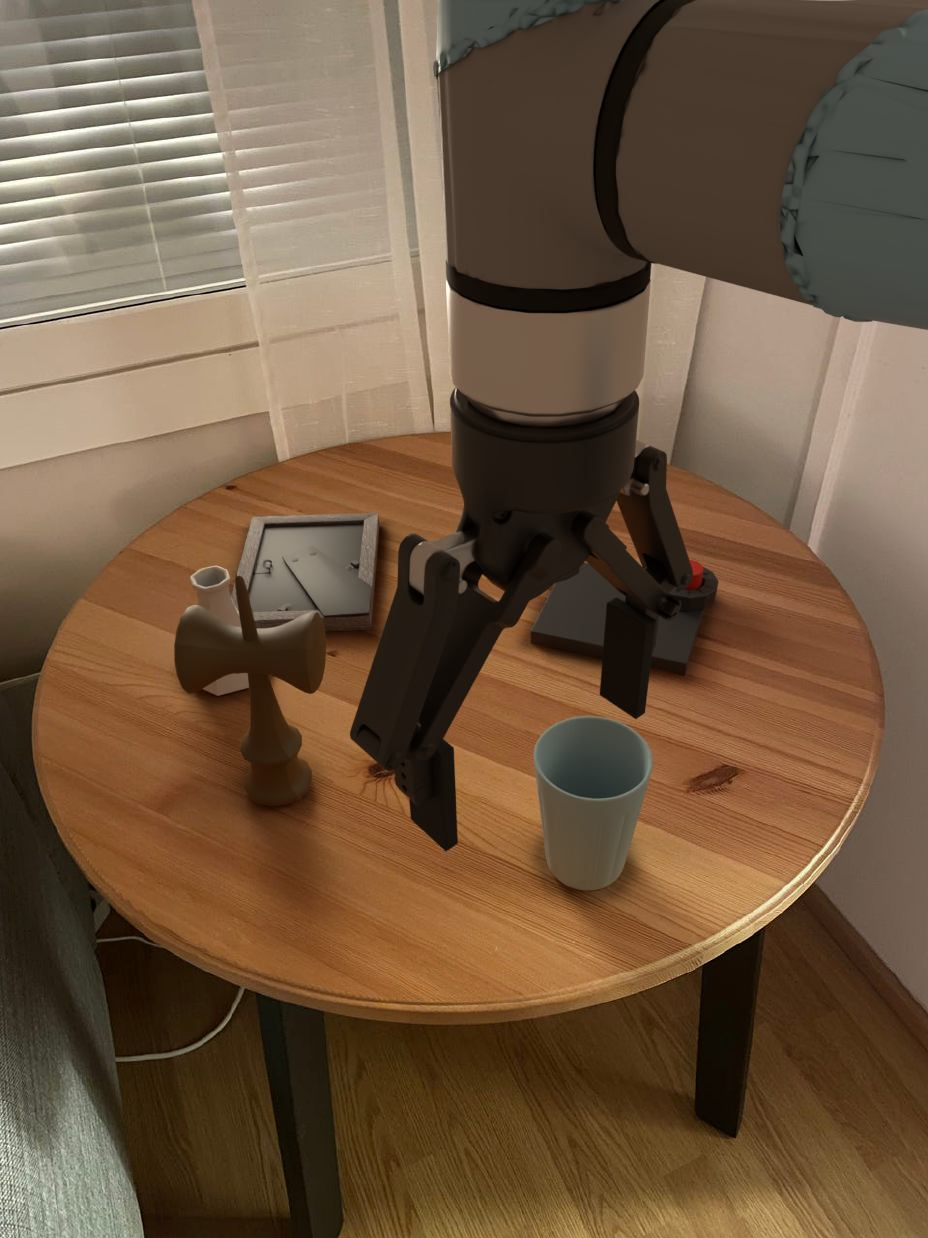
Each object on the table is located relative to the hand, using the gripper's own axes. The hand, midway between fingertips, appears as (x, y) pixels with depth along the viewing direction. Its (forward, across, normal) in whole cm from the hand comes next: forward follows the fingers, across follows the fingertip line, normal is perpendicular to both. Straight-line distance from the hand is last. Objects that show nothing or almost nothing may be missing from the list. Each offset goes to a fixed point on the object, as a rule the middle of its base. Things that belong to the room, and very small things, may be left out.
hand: (534, 764), depth 53 cm
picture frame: (+19, -14, -47) cm, 52 cm away
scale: (+19, -32, -21) cm, 43 cm away
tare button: (+16, -38, -18) cm, 45 cm away
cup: (+19, -9, -4) cm, 22 cm away
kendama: (+19, +3, -24) cm, 31 cm away
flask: (+19, -1, -39) cm, 44 cm away
